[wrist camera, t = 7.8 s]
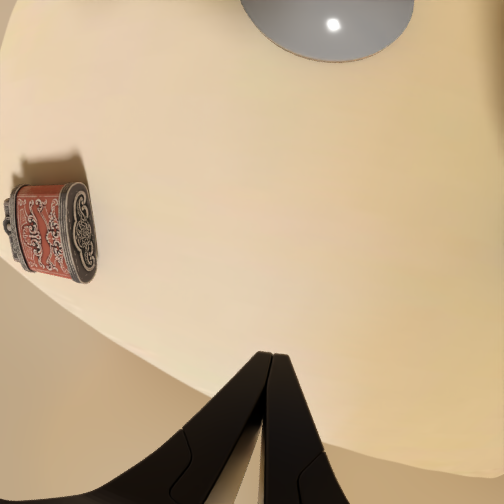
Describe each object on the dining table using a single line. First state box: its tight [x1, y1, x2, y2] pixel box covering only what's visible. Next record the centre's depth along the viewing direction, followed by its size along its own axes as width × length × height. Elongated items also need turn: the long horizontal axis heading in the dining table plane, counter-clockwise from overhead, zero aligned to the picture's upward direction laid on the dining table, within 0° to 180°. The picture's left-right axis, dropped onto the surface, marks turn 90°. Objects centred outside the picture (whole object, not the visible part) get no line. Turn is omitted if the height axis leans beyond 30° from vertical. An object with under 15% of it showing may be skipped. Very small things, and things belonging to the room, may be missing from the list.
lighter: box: [3, 182, 97, 284], centre depth 23 cm, size 8×3×10 cm
